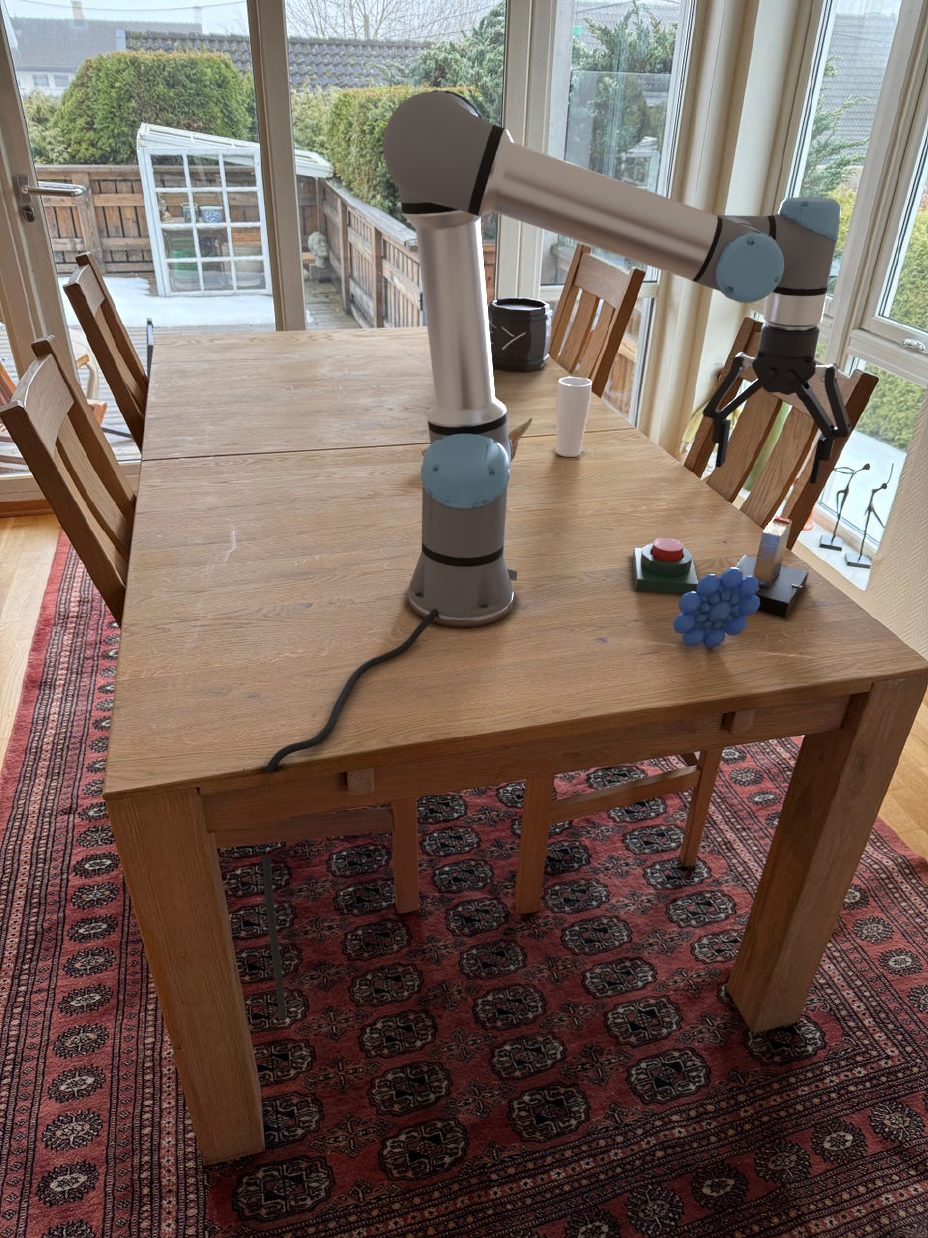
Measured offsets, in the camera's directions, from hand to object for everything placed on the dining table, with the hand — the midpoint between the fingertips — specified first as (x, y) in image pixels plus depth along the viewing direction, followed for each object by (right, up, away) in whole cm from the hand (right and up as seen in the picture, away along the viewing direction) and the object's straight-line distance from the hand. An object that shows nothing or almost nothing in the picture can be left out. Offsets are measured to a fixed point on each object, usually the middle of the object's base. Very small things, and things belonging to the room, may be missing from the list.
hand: (766, 472), depth 134 cm
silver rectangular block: (+1, -15, +4) cm, 16 cm away
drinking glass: (-23, +13, +55) cm, 60 cm away
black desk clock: (-31, +47, +113) cm, 126 cm away
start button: (-13, -12, +7) cm, 19 cm away
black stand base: (+1, -17, +5) cm, 18 cm away
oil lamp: (-42, +9, +47) cm, 64 cm away
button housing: (-13, -15, +9) cm, 22 cm away
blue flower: (-11, -25, -8) cm, 28 cm away
